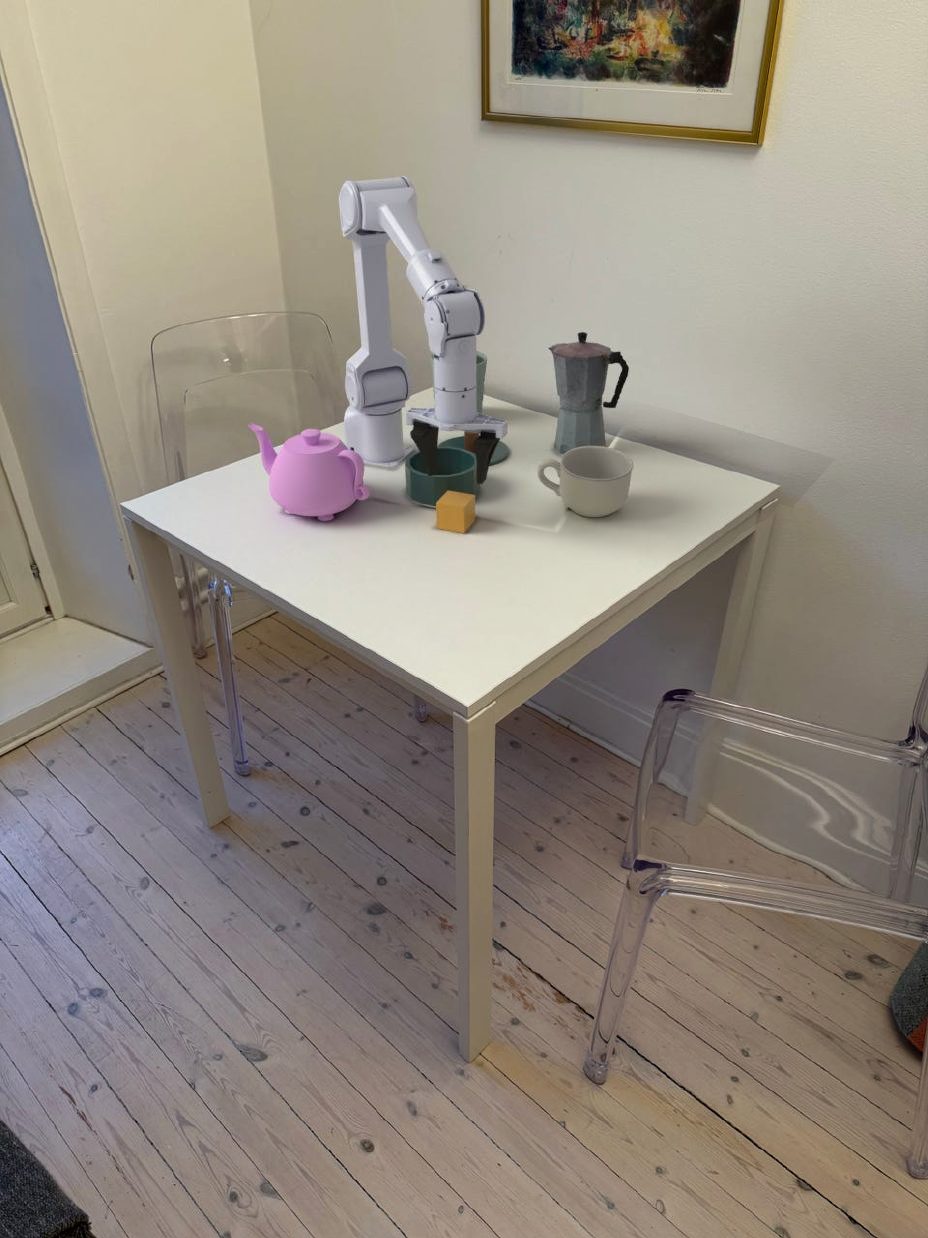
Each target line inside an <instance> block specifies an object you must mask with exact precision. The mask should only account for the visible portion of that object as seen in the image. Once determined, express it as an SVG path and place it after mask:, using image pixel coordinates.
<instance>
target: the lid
mask: <svg viewBox="0 0 928 1238" xmlns="http://www.w3.org/2000/svg"><path fill="white" fill-rule="evenodd" d="M478 436H480V433H474V432H467V431H463V435H461V436H456V437H452V438H448V439H446V440H444V441H442V442H440V443H438V444H437V447H456V448H462V449H465V450H468V451H470V452H473V453H474V454H475V455H476V453H475V448H474V440H475V439H476V438H477V437H478ZM508 455H509V447H508V446H507V444H505V442H503V441H501V440H499V442H498V444H497V446H496V448H495V451H494V453H493V455H492V458H491V461H490V465H489V466H492V465H496V464H498V463H500V462H502V461H504V460H505V459H506V458H507V457H508Z"/></svg>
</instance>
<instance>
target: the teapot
mask: <svg viewBox="0 0 928 1238" xmlns="http://www.w3.org/2000/svg"><path fill="white" fill-rule="evenodd" d="M247 426H248V427H249V429H251V430H252V432H253V433H254V434H255V436H256V438H257V440H258V444H259V451H260V459H261V465H262V467H263V469H264V471H265V472H266V474H267V475H268V476H269V494H270V497H271V498H272V500H273V501H274V502H275V503H276V504H277V505H278V506H279V507H281V508H282V509H284V512H285V513H286V514H288V515H297V516H304V517H317V519H318V520H319V521H321V522H329V521H331V520H333V519H334V518H335V516H334V514H337V513H339V512H343V511H345V510H346V509H348V508H350V507H351V506H352V505H353V504H354V503H355V502H356V501H357V500H358V501H365V500H367V499H368V498H369V497H370V494H371V490H370V488H369V487H368V486H367V485H365V483H364V475H365V462H363V459H362V457H361V456H360V455H359V454H358V453H356V452H355V451H352V450H349V449H348V448H347V447H346V443H345V442H343V440H341V439H340V438H339V437H338V436H337V435H334V434H331V433H328V432H321V430H320V429H316V428H307V429H304V430H302V431H301V433H300V434H296V435H294V436H291V437H289V438H288V439H287V440H285V441H284V443H283V444H282V446H281V447H280V449H279V451H278V453H277V452H276V450H275V448H274V447H273V446H274V445H273V444H272V441H271V438H270V436H269V434H268V432H267V431H266V429H264V428H263V427H262V426H260V425H258V424H256V423H250V422H249V423H247Z"/></svg>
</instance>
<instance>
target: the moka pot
mask: <svg viewBox="0 0 928 1238" xmlns="http://www.w3.org/2000/svg"><path fill="white" fill-rule="evenodd" d="M587 337H588V332H584V331H580V332H578V333H577V338H578V341H575V342H569V343H566V342H565V343H556V344H553V345H551V346H549V347H548V350H549V351H550V352H551V354H552V359H553V367H554V375H555V376H554V377H555V383H556V384H555V385H556V393H557V396H558V397H559V406H560V407H559V410H558V415H557V422H556V430H555V439H554V445H553V447H554V449H555V450H556V451H557V452H558V453H559V454H561V455H564V454H565V453H566V452H567V451H569V450H571V449H574V448H578V447H583V446H602V447H607V441H606V431H605V421H604V420H605V419H604V410H603V408H606V409H616V408H617V405H618V403H619V402H618V401H619V400H620V397H621V393H622V392H623V389H624V385H626V384H625V383H626V381H627V379H628V377H629V371H630V367H629V365H628V364H627V360H625V359H624V356H623V355H622V352H621V351H612V349H611V347H609V346H606V345H603V344H601V343H598V342H591V341H587ZM614 364H618V365H620V368H621V371H620V374H619V376H618V380H617V383H616V385H615V388H614V394H613V396H612V398H611V400H610V401H609V402H608V401H603V396H604V394H605V391H606V390H605V389H606V384H607V377H608V371H609V365H614Z"/></svg>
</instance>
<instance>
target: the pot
mask: <svg viewBox="0 0 928 1238" xmlns="http://www.w3.org/2000/svg"><path fill="white" fill-rule="evenodd" d="M437 453H438V470H437V472H436V473H435V474H434V475H433V476H428V474H427V470H426V467H425V463H424V461H423V458H422V455H421V453H420V451H419V450H417V451H414V452H411V454H408V455H407V456H406V457H405V461H404V471H405V489H406V490H405V491H406V495H407V496H408V497H409V499H410V500H412V501H415V502H416V503H419V504H418V506H419V507H423V508H426V509H433V510H436V502H437V501H438V500H439V499H440V498H441V497H442V496H443V495H444V494H445V493H446V492H447V491H448V490H449V491H454V492H460V493H466V494H472V495H475V497H477V496H478V494H479V493H480V484H477V479H476V474H477V461H476V455H475V454H474V453H473V452H470V451H468V450H465V449H462V448H456V447H437Z"/></svg>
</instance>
